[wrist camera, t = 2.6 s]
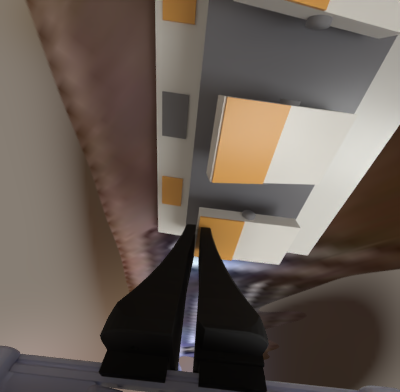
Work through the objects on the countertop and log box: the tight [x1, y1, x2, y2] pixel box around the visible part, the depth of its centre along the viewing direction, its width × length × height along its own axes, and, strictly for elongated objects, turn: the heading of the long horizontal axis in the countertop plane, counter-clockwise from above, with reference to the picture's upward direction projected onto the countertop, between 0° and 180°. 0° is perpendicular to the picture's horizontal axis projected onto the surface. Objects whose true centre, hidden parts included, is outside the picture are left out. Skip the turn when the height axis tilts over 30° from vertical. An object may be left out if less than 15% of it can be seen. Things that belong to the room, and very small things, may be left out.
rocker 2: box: [194, 207, 301, 265], centre depth 13 cm, size 7×4×1 cm, turn 83°
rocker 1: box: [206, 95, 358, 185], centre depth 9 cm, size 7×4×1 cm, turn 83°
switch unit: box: [155, 0, 400, 255], centre depth 13 cm, size 18×26×4 cm
